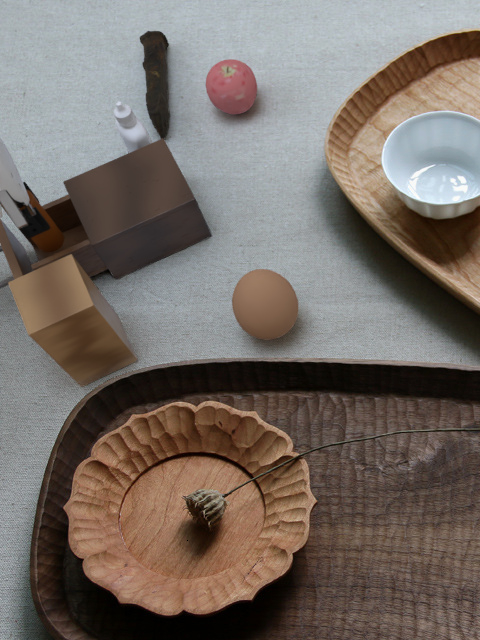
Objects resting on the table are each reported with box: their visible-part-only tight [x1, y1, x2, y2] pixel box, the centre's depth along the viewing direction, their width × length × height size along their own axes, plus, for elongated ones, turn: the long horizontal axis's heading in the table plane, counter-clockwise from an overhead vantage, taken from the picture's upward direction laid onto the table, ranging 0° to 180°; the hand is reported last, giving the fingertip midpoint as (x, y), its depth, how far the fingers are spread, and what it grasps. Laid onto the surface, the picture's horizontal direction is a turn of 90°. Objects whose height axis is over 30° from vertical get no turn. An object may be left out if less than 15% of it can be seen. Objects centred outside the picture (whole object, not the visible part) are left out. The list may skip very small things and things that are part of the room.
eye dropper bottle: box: [113, 101, 154, 153], centre depth 115 cm, size 4×6×12 cm
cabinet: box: [63, 138, 213, 281], centre depth 112 cm, size 15×12×9 cm
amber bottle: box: [18, 190, 64, 253], centre depth 104 cm, size 4×4×10 cm
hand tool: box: [139, 30, 171, 139], centre depth 123 cm, size 19×4×5 cm, turn 7°
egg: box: [231, 268, 300, 341], centre depth 103 cm, size 8×8×11 cm
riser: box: [8, 254, 139, 388], centre depth 101 cm, size 8×8×15 cm
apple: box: [205, 58, 258, 115], centre depth 120 cm, size 7×7×8 cm
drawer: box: [0, 193, 109, 290], centre depth 110 cm, size 18×10×7 cm, turn 118°
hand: (33, 218), depth 104 cm, fingers closed on amber bottle, 3 cm apart
